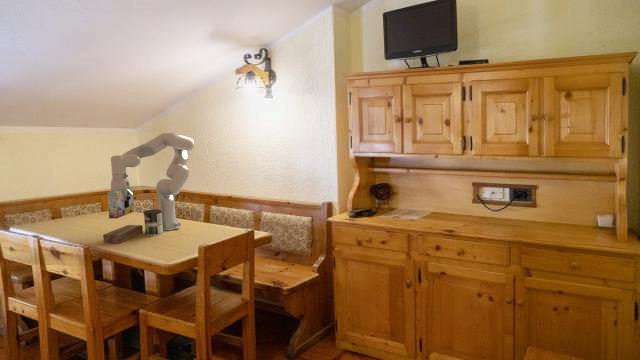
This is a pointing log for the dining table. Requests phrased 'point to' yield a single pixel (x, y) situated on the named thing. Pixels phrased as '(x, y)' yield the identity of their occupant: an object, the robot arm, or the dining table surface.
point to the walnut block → (123, 234)
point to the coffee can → (153, 222)
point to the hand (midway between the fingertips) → (121, 207)
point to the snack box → (119, 204)
